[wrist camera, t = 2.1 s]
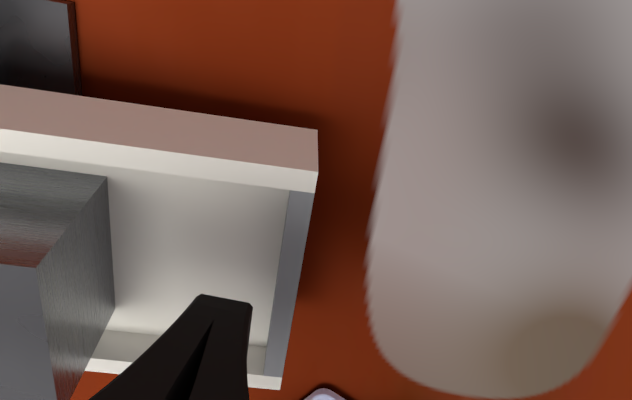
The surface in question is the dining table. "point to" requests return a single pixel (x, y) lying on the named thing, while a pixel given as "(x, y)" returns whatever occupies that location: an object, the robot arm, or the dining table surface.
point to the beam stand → (39, 45)
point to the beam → (181, 212)
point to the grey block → (52, 278)
